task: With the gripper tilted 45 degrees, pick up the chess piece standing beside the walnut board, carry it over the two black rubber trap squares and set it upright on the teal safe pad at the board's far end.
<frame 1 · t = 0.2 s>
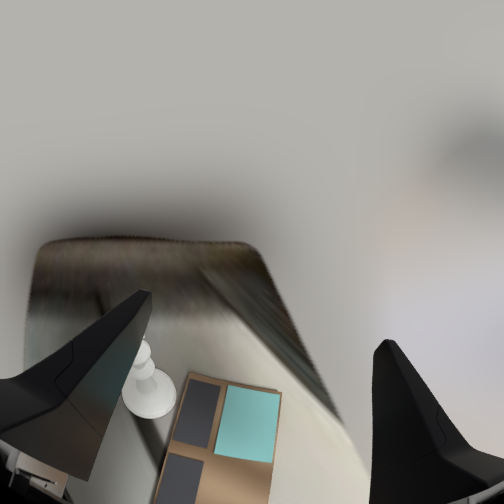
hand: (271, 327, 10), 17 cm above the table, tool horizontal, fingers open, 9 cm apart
chess piece: (149, 394, 22), on the table
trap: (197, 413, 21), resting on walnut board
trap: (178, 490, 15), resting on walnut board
walnut board: (220, 461, 18), on the table
safe pad: (248, 424, 21), resting on walnut board
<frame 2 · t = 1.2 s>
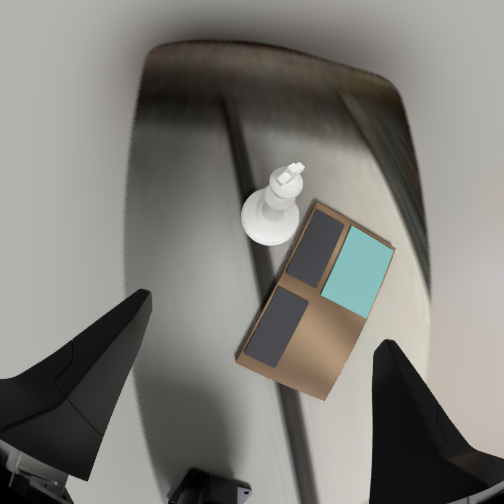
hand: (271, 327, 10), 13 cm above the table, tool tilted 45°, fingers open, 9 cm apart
chess piece: (269, 217, 25), on the table
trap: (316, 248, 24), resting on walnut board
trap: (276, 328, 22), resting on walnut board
walnut board: (322, 303, 24), on the table
safe pad: (359, 272, 24), resting on walnut board
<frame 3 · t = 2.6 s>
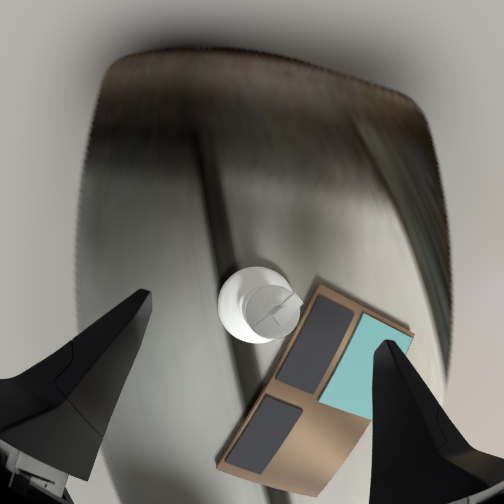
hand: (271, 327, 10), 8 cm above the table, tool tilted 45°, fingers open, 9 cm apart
chess piece: (256, 304, 18), on the table
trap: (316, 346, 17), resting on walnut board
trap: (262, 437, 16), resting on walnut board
walnut board: (319, 406, 17), on the table
safe pad: (367, 369, 17), resting on walnut board
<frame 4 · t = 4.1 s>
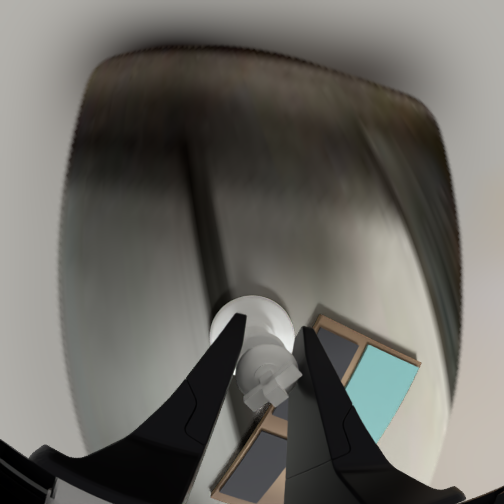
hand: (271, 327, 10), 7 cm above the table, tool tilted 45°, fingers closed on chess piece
chess piece: (251, 336, 17), on the table, touching gripper
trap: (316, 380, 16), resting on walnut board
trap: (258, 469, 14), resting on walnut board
walnut board: (318, 438, 16), on the table
safe pad: (370, 401, 16), resting on walnut board
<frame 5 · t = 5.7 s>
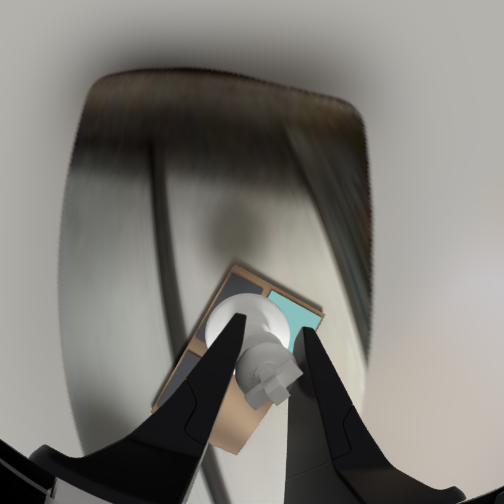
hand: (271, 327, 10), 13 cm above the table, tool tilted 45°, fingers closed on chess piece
chess piece: (247, 334, 17), point 6 cm above the table, touching gripper
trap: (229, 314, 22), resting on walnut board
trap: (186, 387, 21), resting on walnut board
walnut board: (235, 367, 22), on the table
safe pad: (276, 340, 22), resting on walnut board
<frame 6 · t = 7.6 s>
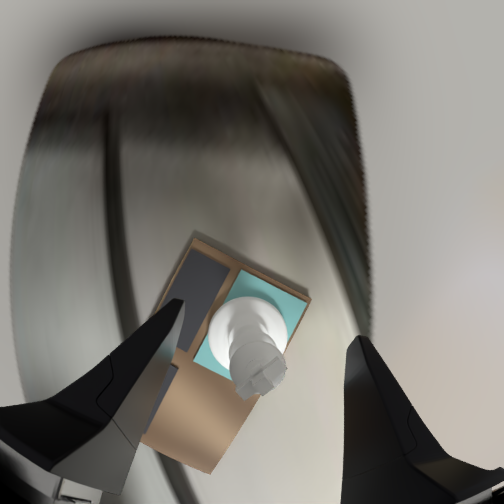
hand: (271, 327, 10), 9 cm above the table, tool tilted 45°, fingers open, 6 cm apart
chess piece: (247, 335, 18), point 1 cm above the table, touching safe pad
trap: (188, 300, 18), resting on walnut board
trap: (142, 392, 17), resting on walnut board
walnut board: (200, 369, 18), on the table
safe pad: (250, 333, 18), resting on walnut board
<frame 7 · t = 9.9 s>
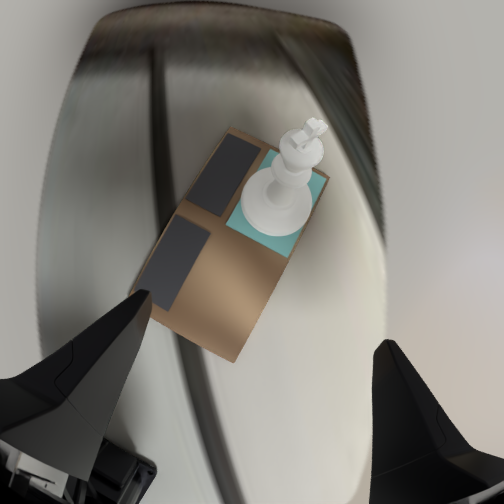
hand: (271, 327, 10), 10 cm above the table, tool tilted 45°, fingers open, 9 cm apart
chess piece: (276, 202, 20), point 1 cm above the table, touching safe pad
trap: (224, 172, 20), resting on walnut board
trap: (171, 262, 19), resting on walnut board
walnut board: (230, 237, 20), on the table
safe pad: (278, 200, 20), resting on walnut board
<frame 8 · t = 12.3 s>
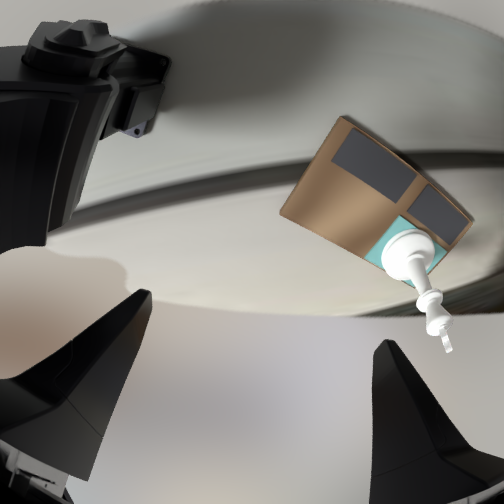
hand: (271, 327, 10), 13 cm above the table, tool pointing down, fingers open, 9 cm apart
chess piece: (407, 252, 22), point 1 cm above the table, touching safe pad
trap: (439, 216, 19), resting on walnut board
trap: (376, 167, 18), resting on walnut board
walnut board: (387, 214, 21), on the table
safe pad: (407, 253, 22), resting on walnut board
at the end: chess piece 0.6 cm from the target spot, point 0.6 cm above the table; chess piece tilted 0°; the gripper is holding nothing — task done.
